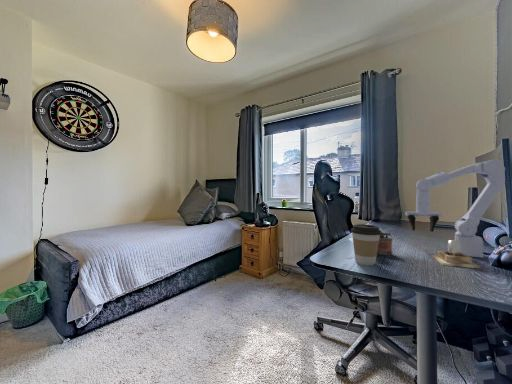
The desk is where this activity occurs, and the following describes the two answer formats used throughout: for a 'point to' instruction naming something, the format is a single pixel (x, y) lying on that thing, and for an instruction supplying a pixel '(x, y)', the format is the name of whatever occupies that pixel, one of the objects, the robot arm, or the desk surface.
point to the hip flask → (385, 244)
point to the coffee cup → (365, 243)
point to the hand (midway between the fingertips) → (422, 230)
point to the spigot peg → (453, 248)
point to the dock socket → (455, 260)
